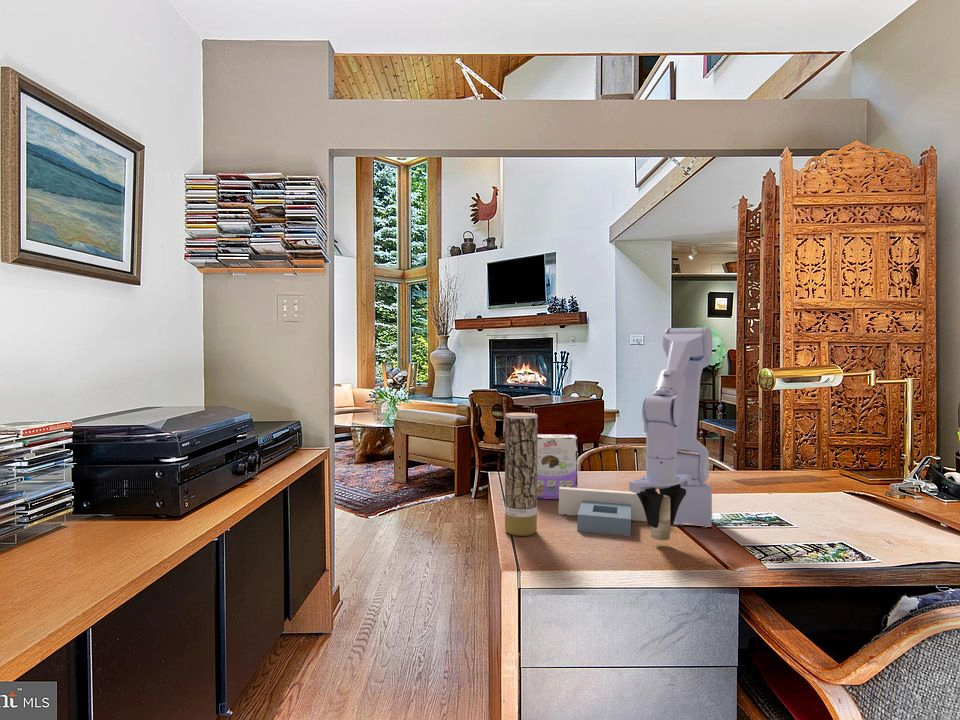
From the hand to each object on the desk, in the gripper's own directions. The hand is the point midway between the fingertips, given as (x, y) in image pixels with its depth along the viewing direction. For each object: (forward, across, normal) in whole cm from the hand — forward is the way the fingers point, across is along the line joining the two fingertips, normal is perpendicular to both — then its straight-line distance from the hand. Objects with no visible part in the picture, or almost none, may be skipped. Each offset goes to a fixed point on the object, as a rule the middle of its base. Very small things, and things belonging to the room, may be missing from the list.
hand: (660, 524), depth 107 cm
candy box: (+4, 0, -40) cm, 40 cm away
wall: (+4, -3, -20) cm, 20 cm away
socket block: (+4, +2, -15) cm, 15 cm away
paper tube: (+4, +21, -19) cm, 29 cm away
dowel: (+2, 0, 0) cm, 2 cm away
